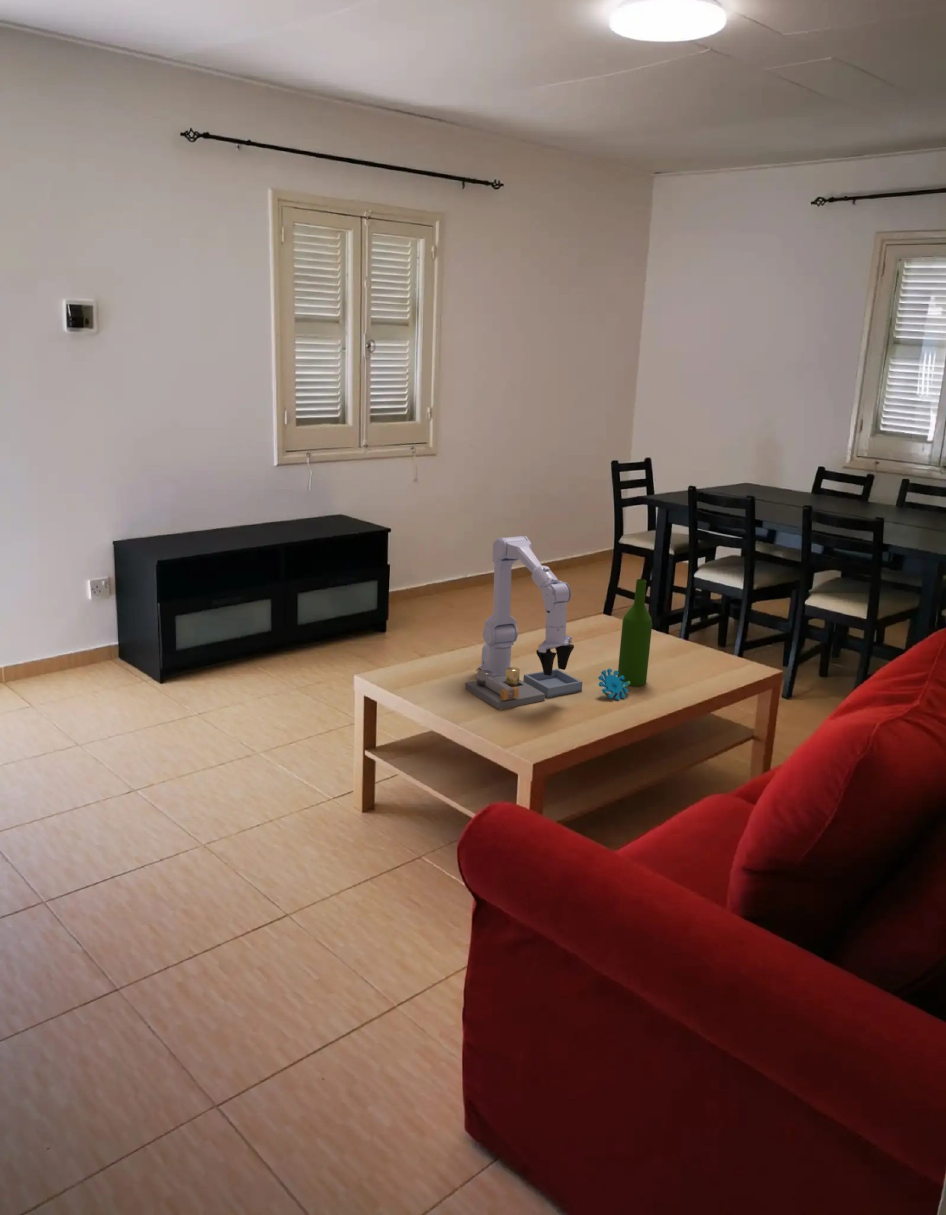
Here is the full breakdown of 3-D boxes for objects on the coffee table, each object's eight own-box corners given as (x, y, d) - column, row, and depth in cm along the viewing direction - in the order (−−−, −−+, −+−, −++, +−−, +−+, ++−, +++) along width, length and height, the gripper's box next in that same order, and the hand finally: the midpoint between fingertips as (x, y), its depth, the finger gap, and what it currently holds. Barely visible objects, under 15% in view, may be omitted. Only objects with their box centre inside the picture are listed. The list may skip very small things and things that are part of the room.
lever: (472, 682, 279) (473, 671, 278) (487, 679, 281) (488, 668, 280) (503, 701, 266) (503, 689, 265) (518, 698, 268) (519, 686, 267)
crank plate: (465, 688, 280) (465, 682, 279) (510, 680, 288) (510, 674, 288) (498, 709, 265) (499, 702, 265) (544, 700, 274) (545, 693, 273)
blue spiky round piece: (605, 698, 273) (597, 667, 278) (594, 706, 278) (586, 675, 282) (636, 698, 278) (627, 668, 283) (625, 706, 283) (617, 676, 287)
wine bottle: (623, 674, 298) (632, 574, 289) (650, 680, 294) (660, 579, 285) (612, 682, 290) (622, 580, 281) (640, 688, 286) (650, 585, 277)
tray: (523, 683, 286) (523, 674, 285) (556, 677, 292) (557, 668, 292) (547, 697, 276) (548, 688, 275) (581, 691, 282) (582, 681, 281)
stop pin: (502, 688, 281) (503, 668, 279) (513, 686, 283) (514, 666, 281) (510, 693, 278) (511, 672, 276) (521, 691, 280) (522, 670, 278)
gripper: (554, 632, 257) (553, 680, 260) (581, 622, 269) (580, 668, 272) (532, 628, 262) (531, 675, 264) (560, 619, 273) (559, 664, 276)
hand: (554, 672), depth 268 cm, fingers open, 7 cm apart
